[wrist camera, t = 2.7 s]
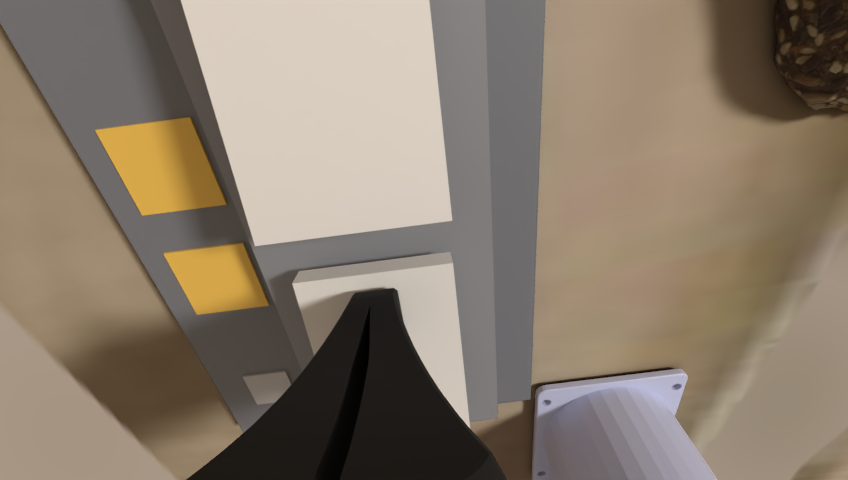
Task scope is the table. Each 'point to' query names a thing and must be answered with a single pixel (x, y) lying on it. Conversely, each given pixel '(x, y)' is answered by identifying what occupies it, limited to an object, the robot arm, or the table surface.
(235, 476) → the robot arm
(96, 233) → the table surface
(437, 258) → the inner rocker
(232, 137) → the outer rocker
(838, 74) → the bread roll
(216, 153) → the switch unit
